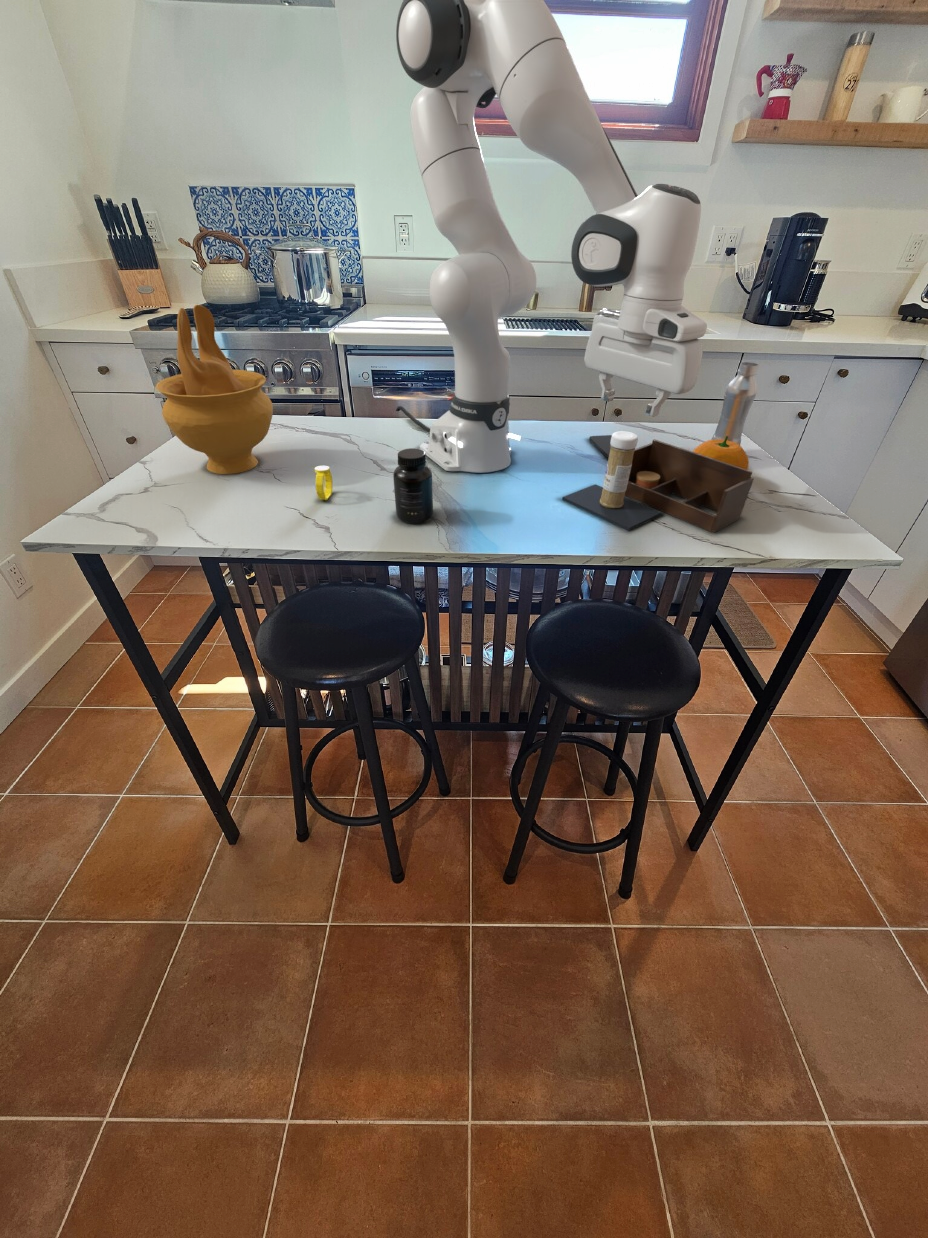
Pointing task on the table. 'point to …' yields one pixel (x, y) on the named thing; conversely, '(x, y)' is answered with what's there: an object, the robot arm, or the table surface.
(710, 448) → the fruit
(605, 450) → the phone
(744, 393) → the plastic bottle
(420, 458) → the supplement bottle
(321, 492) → the watch
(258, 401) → the decorative bowl
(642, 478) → the spice tin
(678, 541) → the table surface
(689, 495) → the spice rack
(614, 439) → the sprinkles bottle
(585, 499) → the rubber mat
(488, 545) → the table surface
